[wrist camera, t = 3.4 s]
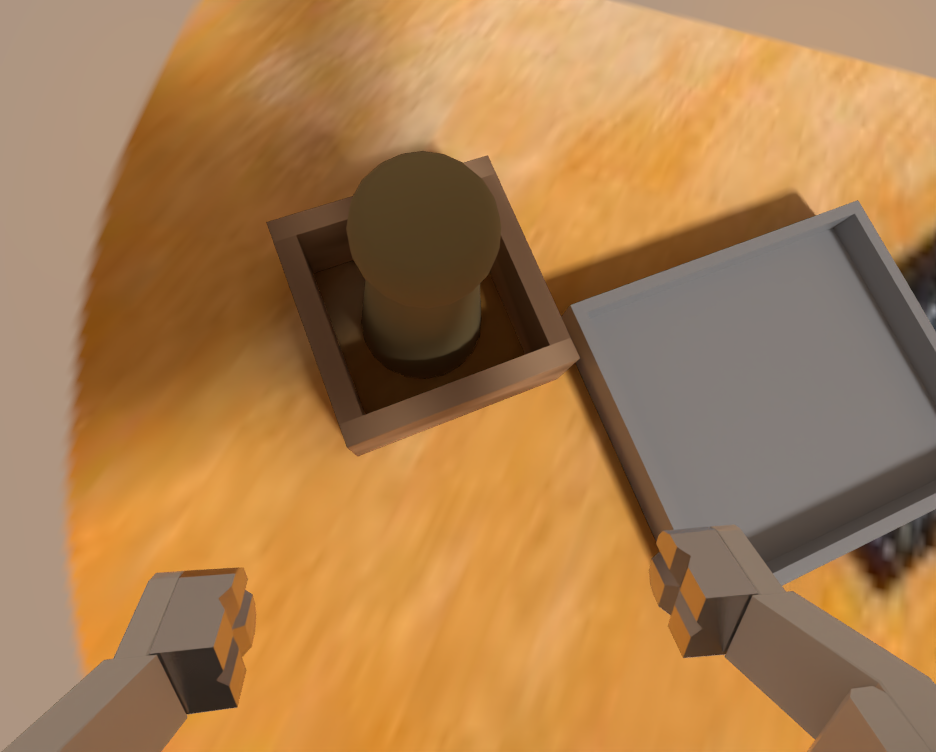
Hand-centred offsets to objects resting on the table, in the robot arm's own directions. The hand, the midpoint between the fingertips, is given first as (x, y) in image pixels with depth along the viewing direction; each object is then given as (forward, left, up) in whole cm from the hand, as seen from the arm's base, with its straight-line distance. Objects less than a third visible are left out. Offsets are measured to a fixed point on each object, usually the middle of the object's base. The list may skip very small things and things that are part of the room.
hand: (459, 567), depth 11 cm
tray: (-18, 0, -15) cm, 23 cm away
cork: (-3, -10, -15) cm, 18 cm away
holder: (-3, -10, -15) cm, 18 cm away
